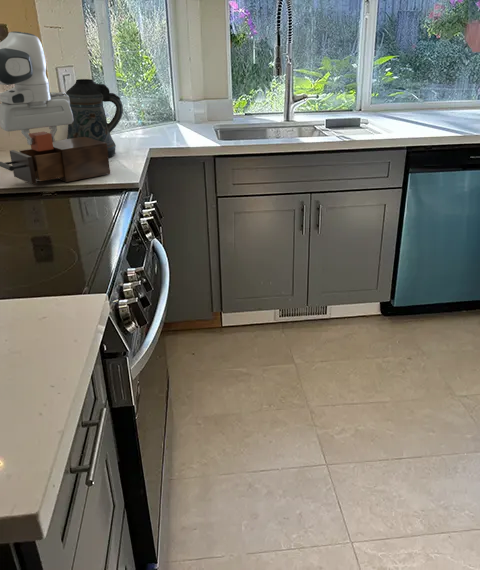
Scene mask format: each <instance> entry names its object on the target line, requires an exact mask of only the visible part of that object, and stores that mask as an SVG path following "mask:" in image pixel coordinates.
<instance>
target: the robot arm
mask: <svg viewBox="0 0 480 570" xmlns="http://www.w3.org/2000/svg"><path fill="white" fill-rule="evenodd" d="M46 63H47V62H46V56H45V52H44V48H43V45H42V42H41V40H40V38H39V36H37V35H35V34H33V33H31V32H21V31H9V32H8V34H7V36H6V37H5V38H4V39H3V40H1V41H0V85H3V86H10V85H14V87H12V88H10V89H7V90H5V91H3V92H0V128H1V129H2V130H3V131H5V132H18V131H21V134H22V135H23V136H24V137H25V139H26V142H27V145H28V146H31V145H35V139H34V138H31V137H30V136H29V133H31V131H30V130H34V129H42V128H48V129H49V130H50V131H49V133H50V134H51V136H52V142H55V141H56V140H55V139H56V138H55V136H56V134H57V131H58V126H59V127H60V126H68V124H72V122H73V115H72V111H71V107H70V99H69V96H68V95H67V94H65V93H66V92H64V91H58V92H55V91H54V92H53V91H52V92H51V89H50V83H49V79H48V77H47V71H46V70H47V64H46Z"/></svg>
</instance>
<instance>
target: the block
mask: <svg viewBox="0 0 480 570" xmlns="http://www.w3.org/2000/svg"><path fill="white" fill-rule="evenodd" d="M28 135H29V136H30V137H31V138H34V139H35V145H30V149H33V150H36V151H45V150H52V149H54V148H53V142H52V136H51V134H50V132H48V131H47V132H46V131H38V132H30V133H28Z"/></svg>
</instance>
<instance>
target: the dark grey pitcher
mask: <svg viewBox="0 0 480 570" xmlns="http://www.w3.org/2000/svg"><path fill="white" fill-rule="evenodd" d="M110 91H111V90H110V88H109V87H108V86H107V85H106V84H103V83H96V82H94V80H93V79H92V78H90V79H89V78H79V79H76V80H75V83H74V84H73V85H72V86H71V87H70V88H69V89H68V90H66V92H64V93H65V94H67V95H68V96H69V99H70V107H71V111H72V115H73V122H72V124H68V125H67V135H66V139H72V138H79V137H88V138H91V139H95V140H98V141H101V142H105V143H107V149H108V158H109V159H110V158H112V157H114V156H115V155H116V148H117V147H116V142H115V140H114V139H113V137H112V134H111V133H112V132H113V130H114V129H115V128H116V127H117V125H119V123H120V121H121V119H122V117H123V113H124V105H123V102H122V99H121V98H120V96H118V95H117V94H116V93H114V92H110ZM106 102H107V103H109V102H111V103H112V104H113V105H114V106H115V112H114V115H113V117H112V119H111V120H110V121H109V122H108V119H107V116H106V111H105V108H104V103H106Z"/></svg>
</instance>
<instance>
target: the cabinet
mask: <svg viewBox="0 0 480 570" xmlns="http://www.w3.org/2000/svg"><path fill="white" fill-rule="evenodd" d="M53 148H54V150H57V151H60V152H61V157H62V164H63V171H64V177H61V178H57V180H61V181H64V182H66V183H69V182H73V181H78V180H84V179H88V178H95V177H100V176H104V175H105V176H106V175H110V174H111V167H110V157H109V158H108V149H107V143H105V142H101V141H98V140H95V139H91V138H88V137H79V138H72V139H67V138H66V139H59V140H55V142H53Z"/></svg>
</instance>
